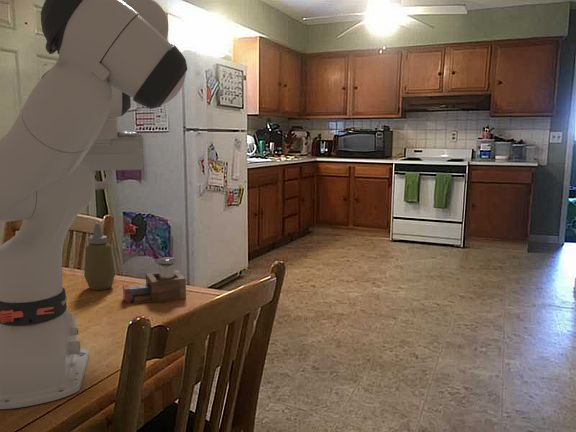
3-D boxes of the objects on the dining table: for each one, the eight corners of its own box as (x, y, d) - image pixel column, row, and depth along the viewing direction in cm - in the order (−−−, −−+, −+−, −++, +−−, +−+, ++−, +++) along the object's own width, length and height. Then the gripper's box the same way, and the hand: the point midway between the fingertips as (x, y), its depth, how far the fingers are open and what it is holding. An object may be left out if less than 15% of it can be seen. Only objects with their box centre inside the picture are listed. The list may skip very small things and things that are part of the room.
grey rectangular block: (155, 298, 133) (155, 285, 132) (125, 302, 130) (124, 289, 129) (152, 294, 136) (152, 281, 136) (123, 298, 133) (122, 285, 132)
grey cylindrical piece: (178, 297, 135) (177, 260, 133) (160, 299, 133) (158, 262, 131) (174, 292, 139) (173, 256, 137) (157, 294, 137) (155, 258, 135)
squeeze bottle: (122, 285, 144) (119, 222, 141) (100, 293, 137) (97, 227, 133) (100, 281, 147) (97, 220, 144) (78, 289, 140) (74, 224, 137)
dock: (186, 298, 134) (185, 278, 133) (135, 305, 128) (135, 284, 127) (178, 289, 142) (177, 269, 141) (130, 294, 136) (129, 274, 135)
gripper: (140, 131, 129) (142, 186, 132) (51, 131, 120) (55, 189, 123) (145, 132, 124) (147, 189, 126) (52, 131, 115) (56, 192, 117)
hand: (101, 189), depth 124 cm, fingers closed
